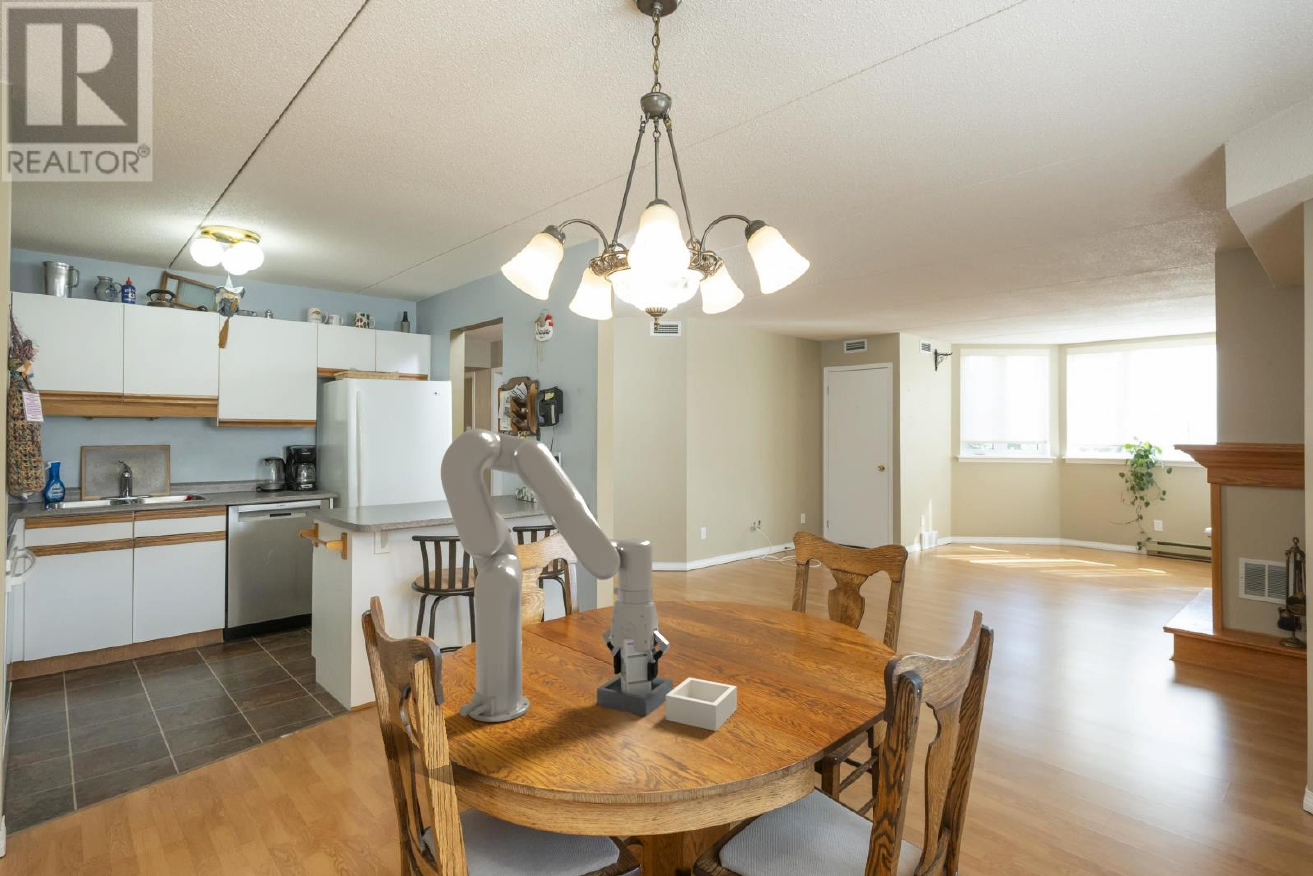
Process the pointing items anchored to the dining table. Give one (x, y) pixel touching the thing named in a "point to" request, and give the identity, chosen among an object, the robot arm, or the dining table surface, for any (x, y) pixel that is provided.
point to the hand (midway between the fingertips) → (635, 675)
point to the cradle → (701, 703)
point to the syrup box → (634, 670)
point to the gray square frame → (633, 696)
